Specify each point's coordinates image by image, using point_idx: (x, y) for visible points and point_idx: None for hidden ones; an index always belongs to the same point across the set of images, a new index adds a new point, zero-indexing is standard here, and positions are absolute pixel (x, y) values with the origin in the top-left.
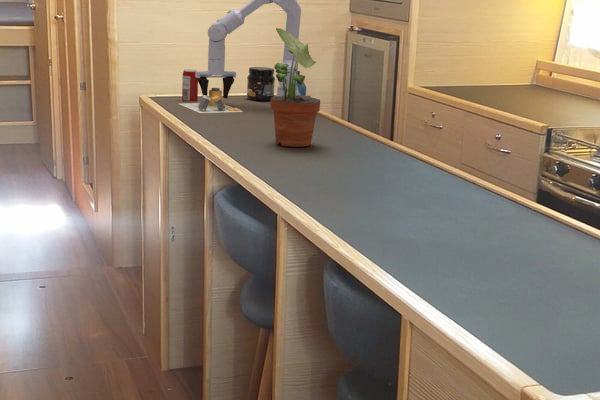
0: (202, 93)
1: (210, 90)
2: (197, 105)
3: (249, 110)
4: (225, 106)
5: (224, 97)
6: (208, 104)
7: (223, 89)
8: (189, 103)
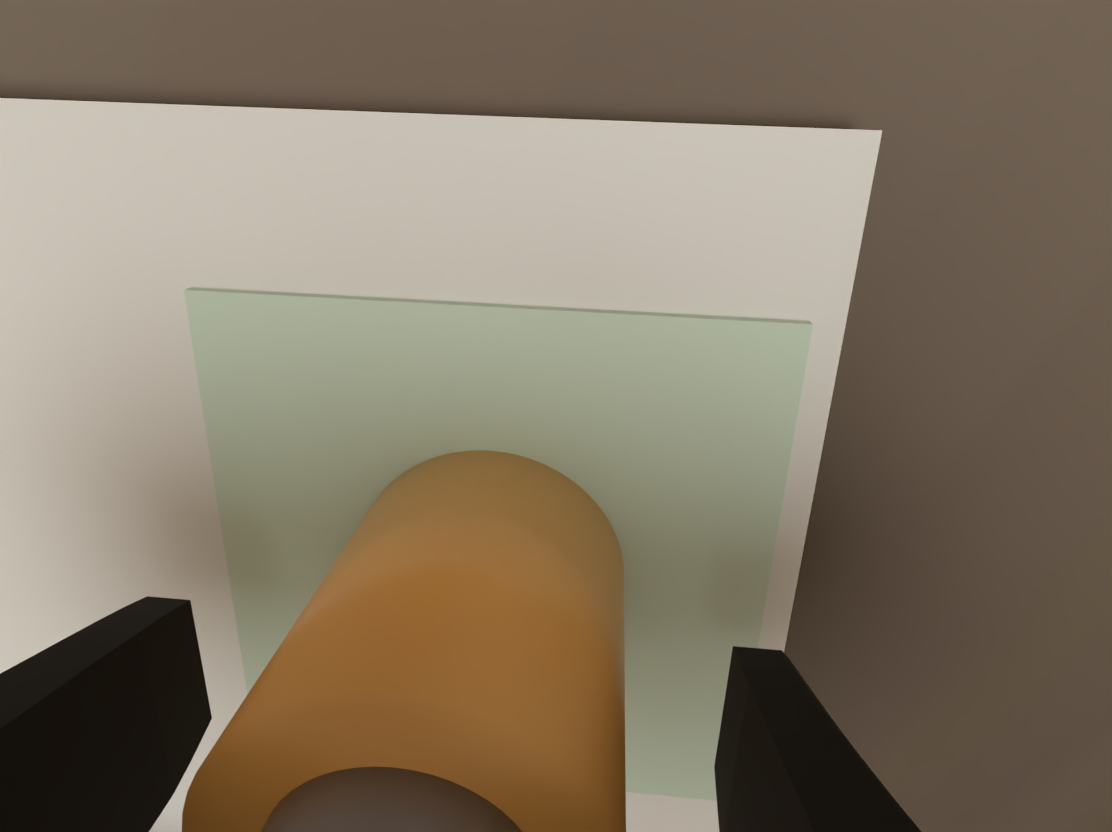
0: (33, 675)
1: (227, 827)
2: (143, 432)
3: (1107, 741)
4: (651, 712)
5: (724, 728)
6: (398, 433)
7: (805, 827)
8: (7, 118)
